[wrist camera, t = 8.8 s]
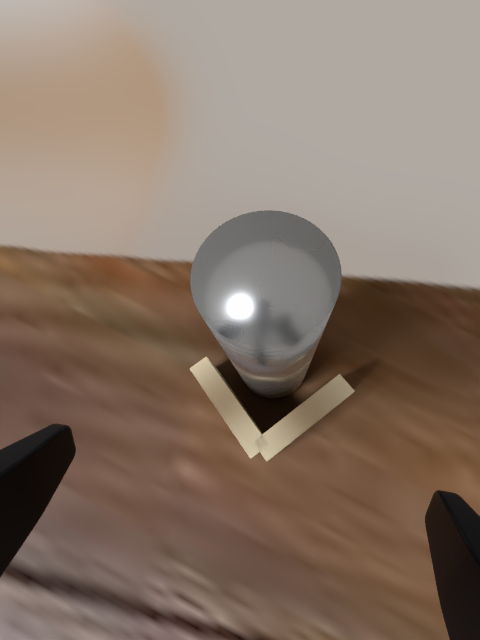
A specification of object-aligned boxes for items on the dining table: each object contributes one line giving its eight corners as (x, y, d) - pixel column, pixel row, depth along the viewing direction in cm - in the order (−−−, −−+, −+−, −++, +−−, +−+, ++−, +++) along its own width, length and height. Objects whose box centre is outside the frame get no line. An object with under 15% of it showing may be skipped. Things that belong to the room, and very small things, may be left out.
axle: (262, 411, 21) (239, 377, 9) (227, 355, 22) (165, 257, 10) (320, 374, 21) (374, 291, 9) (281, 321, 23) (284, 187, 11)
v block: (340, 471, 19) (351, 476, 16) (188, 444, 21) (173, 445, 18) (345, 384, 21) (355, 375, 18) (203, 365, 22) (192, 354, 20)
